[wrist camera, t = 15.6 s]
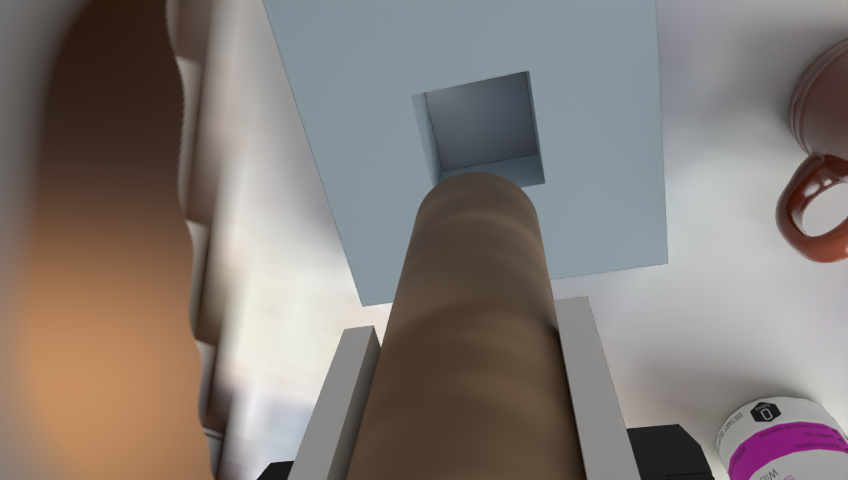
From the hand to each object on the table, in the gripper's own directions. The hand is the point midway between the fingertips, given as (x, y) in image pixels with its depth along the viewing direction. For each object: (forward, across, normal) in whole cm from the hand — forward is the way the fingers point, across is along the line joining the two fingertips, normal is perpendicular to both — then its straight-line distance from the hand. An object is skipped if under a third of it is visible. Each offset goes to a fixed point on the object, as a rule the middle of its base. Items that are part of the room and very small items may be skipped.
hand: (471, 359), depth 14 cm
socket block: (+23, 0, 0) cm, 23 cm away
